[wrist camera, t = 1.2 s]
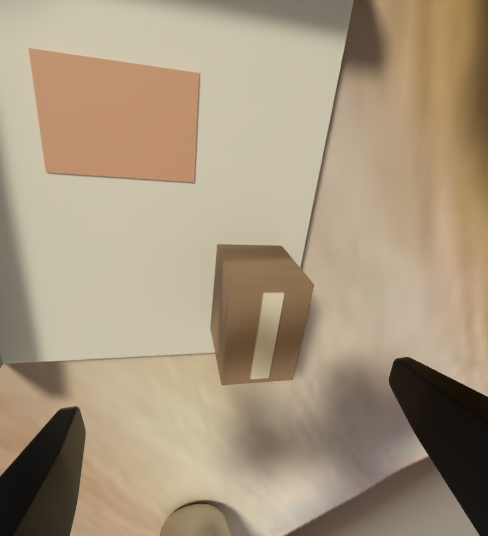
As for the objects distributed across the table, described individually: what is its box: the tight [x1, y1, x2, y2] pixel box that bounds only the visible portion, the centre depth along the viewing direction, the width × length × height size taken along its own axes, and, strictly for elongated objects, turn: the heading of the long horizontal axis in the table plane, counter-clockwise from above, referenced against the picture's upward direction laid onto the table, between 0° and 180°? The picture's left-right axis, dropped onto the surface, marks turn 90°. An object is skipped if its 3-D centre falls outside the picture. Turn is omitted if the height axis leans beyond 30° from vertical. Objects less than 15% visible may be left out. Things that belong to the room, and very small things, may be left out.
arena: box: [0, 0, 354, 368], centre depth 16 cm, size 19×23×5 cm
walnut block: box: [210, 244, 314, 385], centre depth 19 cm, size 6×4×5 cm, turn 174°
